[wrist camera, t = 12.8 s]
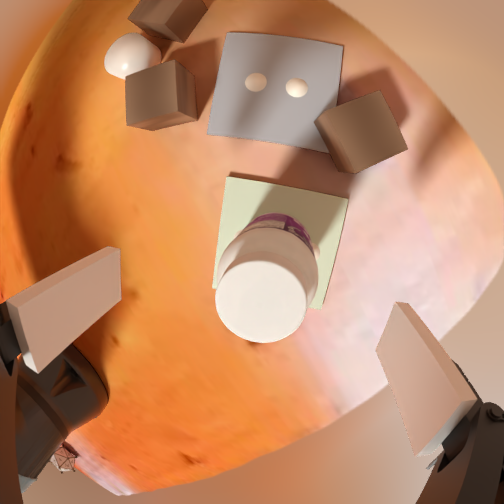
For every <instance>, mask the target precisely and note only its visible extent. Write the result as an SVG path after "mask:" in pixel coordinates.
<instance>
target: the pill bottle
mask: <svg viewBox="0 0 504 504" xmlns="http://www.w3.org/2000/svg"><path fill="white" fill-rule="evenodd" d="M318 279H319V278H318V266H317V263H316V259H315V255H314V250H313V246H312V242H311V239H310V236H309V234H308V232H307V230H306V228H305V227H304V226H303V224H302V223H301V222H300V221H299V220H297V219H296V218H294V217H292V216H290V215H288V214H284V213H279V212H271V213H265V214H263V215H260V216H258V217H256V218H255V219H253V220H252V221H251V222H250V223H249V224H248V225H247V226H246V227H245V228H244V229H243V230H242V231H241V232H240V233H239V234H238V235H237V237H236V238H235V239H234V240H233V241H232V242H231V243H230V244H229V245H228V246H227V248H226V249H225V250H224V252H223V254H222V256H221V259H220V261H219V264H218V269H217V283H218V286H217V289H216V295H215V302H216V309H217V312H218V314H219V316H220V318H221V320H222V321H223V323H224V324H225V325H226V326H227V328H229V329H230V330H231V331H232V332H233V333H235V334H236V335H237V336H239V337H241V338H243V339H246V340H249V341H253V342H260V343H266V342H275V341H278V340H281V339H283V338H286V337H287V336H289V335H290V334H292V333H293V332H294V331H295V330H296V329H297V328H298V327H299V326H300V324H301V323H302V321H303V319H304V317H305V314H306V311H307V308H308V307H309V306H310V304H311V303H312V301H313V299H314V297H315V295H316V292H317V288H318Z"/></svg>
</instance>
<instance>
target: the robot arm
mask: <svg viewBox="0 0 504 504" xmlns="http://www.w3.org/2000/svg"><path fill="white" fill-rule="evenodd" d="M120 300H122V298H121V272H120V249H119V248H114V247H110V246H107V247H105V248H103V249H101V250H99V251H97V252H95V253H93V254H91V255H89V256H87V257H85V258H83V259H81V260H79V261H77V262H75V263H73V264H71V265H69V266H67V267H65V268H63V269H61V270H59V271H58V272H56V273H54V274H52V275H50V276H48V277H46V278H45V279H43V280H41V281H39V282H37V283H35V284H34V285H32V286H30V287H28V288H27V289H25V290H23V291H21V292H20V293H18V294H16V295H14V296H13V297H11V298H9V299H8V300H6V301H5V302H3V303H2V304H0V504H23V500H22V494H21V493H23V492H25V491H26V490H27V488H28V487H29V486H30V485H31V484H32V483H33V482H34V481H36V480H37V476H38V475H39V474H40V472H41V471H42V470H43V468H44V467H45V466H46V464H47V463H48V461H49V460H50V459H51V457H52V456H53V455H54V453H55V452H56V451H57V449H58V448H59V447H60V445H61V444H62V443H63V441H64V440H65V439H66V438H67V436H68V435H69V434H70V433H71V432H72V431H73V430H75V429H77V428H79V427H80V426H82V425H84V424H86V423H87V422H89V421H90V420H92V419H94V418H96V417H98V416H99V415H100V414H101V412H102V411H103V410H104V408H105V407H106V406H107V403H108V397H107V393H106V390H105V387H104V385H103V383H102V381H101V379H100V378H99V376H98V375H97V373H96V372H95V370H94V369H93V367H92V366H91V365H90V364H89V362H88V361H87V360H86V359H85V358H84V356H83V355H82V354H81V353H80V352H79V351H78V350H77V349H76V348H75V347H74V346H73V345H71V343H72V342H73V341H74V340H75V339H76V338H78V337H79V336H80V335H81V334H82V333H83V332H84V331H85V330H87V329H88V328H89V327H90V326H91V325H92V324H93V323H95V322H96V321H97V320H98V319H99V318H100V317H101V316H103V315H104V314H105V313H106V312H107V311H108V310H110V309H111V308H112V307H113V306H114V305H116V304H117V303H118V302H119V301H120ZM376 352H377V355H378V357H379V360H380V362H381V364H382V367H383V369H384V372H385V374H386V377H387V379H388V382H389V384H390V387H391V389H392V392H393V395H394V397H395V400H396V402H397V405H398V408H399V411H400V414H401V416H402V419H403V422H404V425H405V428H406V431H407V434H408V437H409V440H410V443H411V446H412V449H413V452H414V456H415V457H417V456H423V455H429V454H432V453H433V452H434V451H435V450H436V449H437V448H438V447H439V446H440V445H441V444H442V446H443V448H444V451H443V452H442V453H441V454H440V455H439V456H438V457H437V458H436V459H435V460H434V461H433V462H432V463H430V464H429V466H428V467H427V469H430V468H431V467H432V466H433V465H435V466H434V468H433V470H432V473H431V475H430V477H429V479H428V481H427V483H426V485H425V487H424V489H423V491H422V493H421V495H420V497H419V499H418V500H417V502H416V504H504V411H503V410H502V409H501V408H500V407H499V406H498V405H496V404H494V403H491V402H487V403H483V402H482V400H481V398H480V397H479V395H478V394H477V392H476V391H475V389H474V388H473V386H472V384H471V383H470V382H468V379H467V377H466V376H465V375H464V373H463V372H462V370H461V368H460V367H459V366H458V364H456V363H455V362H454V361H453V360H452V359H450V357H449V356H448V354H447V353H446V352H445V350H444V349H443V347H442V346H441V345H440V343H439V342H438V341H437V339H436V338H435V337H434V335H433V334H432V333H431V331H430V330H429V329H428V327H427V326H426V325H425V324H424V322H423V321H422V320H421V319H420V317H419V316H418V315H417V313H416V312H415V311H414V310H413V308H412V307H411V306H410V305H409V304H408V303H401V302H395V304H394V306H393V309H392V312H391V314H390V317H389V319H388V322H387V324H386V327H385V329H384V332H383V334H382V336H381V339H380V341H379V343H378V346H377V348H376ZM20 353H22V354H21V356H20V357H19V359H17V356H18V355H19V354H20Z"/></svg>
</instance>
